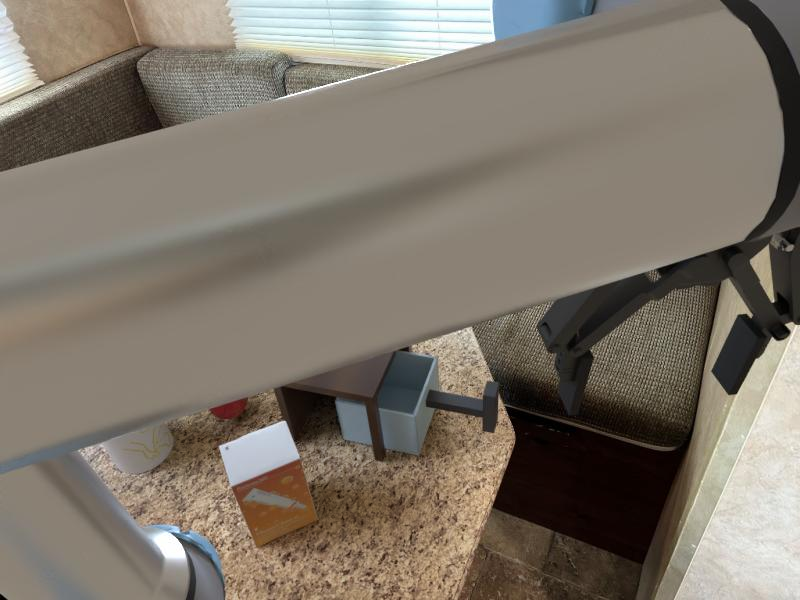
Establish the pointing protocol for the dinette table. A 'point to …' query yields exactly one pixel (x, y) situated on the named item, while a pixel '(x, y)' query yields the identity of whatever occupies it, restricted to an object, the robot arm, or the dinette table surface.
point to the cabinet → (339, 395)
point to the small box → (269, 482)
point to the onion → (230, 409)
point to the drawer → (413, 405)
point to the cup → (140, 449)
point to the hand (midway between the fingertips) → (646, 392)
